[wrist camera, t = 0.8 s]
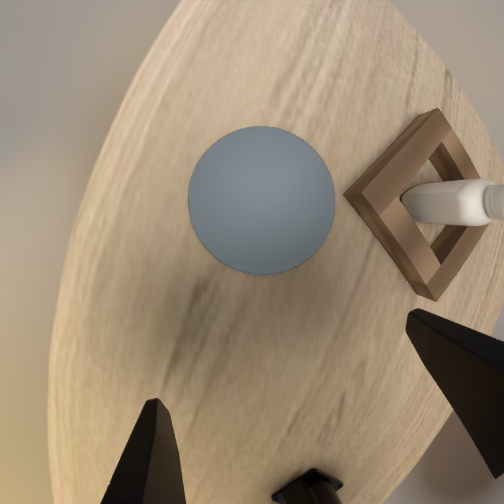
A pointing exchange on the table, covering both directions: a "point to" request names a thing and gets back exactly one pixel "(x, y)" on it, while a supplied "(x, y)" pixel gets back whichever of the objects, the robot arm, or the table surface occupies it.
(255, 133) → the slate-blue rubber mat
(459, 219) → the eye dropper bottle
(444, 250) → the walnut socket block
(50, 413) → the table surface
